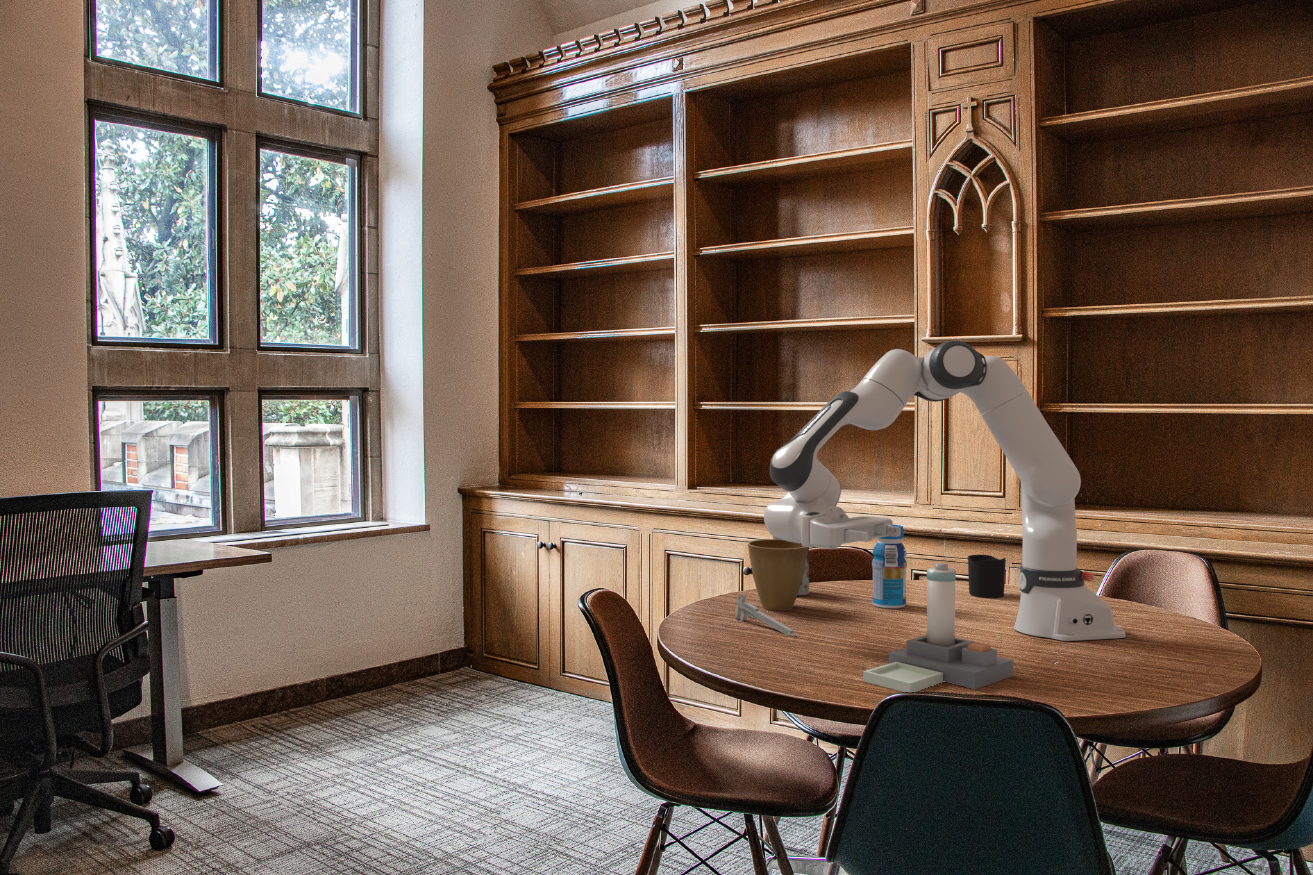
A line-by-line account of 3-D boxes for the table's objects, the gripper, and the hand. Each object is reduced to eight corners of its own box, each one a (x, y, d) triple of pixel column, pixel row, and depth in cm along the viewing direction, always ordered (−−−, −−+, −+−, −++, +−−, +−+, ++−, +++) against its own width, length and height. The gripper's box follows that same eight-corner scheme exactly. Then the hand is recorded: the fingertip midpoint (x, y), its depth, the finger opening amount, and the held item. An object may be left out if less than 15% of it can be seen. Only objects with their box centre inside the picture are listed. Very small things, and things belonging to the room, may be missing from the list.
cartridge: (950, 650, 182) (950, 561, 181) (958, 657, 176) (959, 566, 176) (922, 650, 182) (923, 561, 181) (930, 657, 176) (931, 566, 176)
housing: (928, 656, 189) (928, 629, 188) (1013, 676, 175) (1013, 646, 175) (888, 668, 180) (888, 639, 180) (974, 689, 166) (975, 658, 166)
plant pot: (737, 609, 233) (737, 544, 232) (763, 599, 245) (763, 537, 245) (794, 616, 225) (794, 549, 225) (817, 605, 238) (818, 541, 237)
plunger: (976, 658, 175) (976, 641, 175) (990, 661, 173) (990, 644, 173) (968, 660, 173) (968, 644, 173) (982, 663, 171) (982, 647, 171)
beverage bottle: (865, 605, 238) (865, 525, 237) (884, 600, 244) (885, 522, 243) (894, 610, 232) (894, 528, 231) (913, 605, 237) (913, 525, 237)
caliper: (735, 620, 222) (735, 594, 222) (738, 620, 223) (738, 593, 223) (793, 638, 205) (793, 609, 205) (797, 637, 206) (797, 608, 206)
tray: (895, 671, 178) (895, 661, 178) (942, 682, 171) (942, 672, 171) (862, 681, 172) (862, 671, 172) (910, 693, 164) (910, 683, 164)
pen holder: (1002, 592, 254) (1003, 555, 254) (1007, 599, 245) (1008, 560, 245) (966, 591, 256) (966, 554, 256) (969, 597, 247) (969, 559, 247)
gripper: (859, 536, 205) (914, 544, 195) (796, 547, 192) (852, 556, 181) (859, 507, 205) (915, 514, 194) (797, 516, 191) (852, 523, 181)
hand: (884, 534), depth 188 cm, fingers open, 8 cm apart
